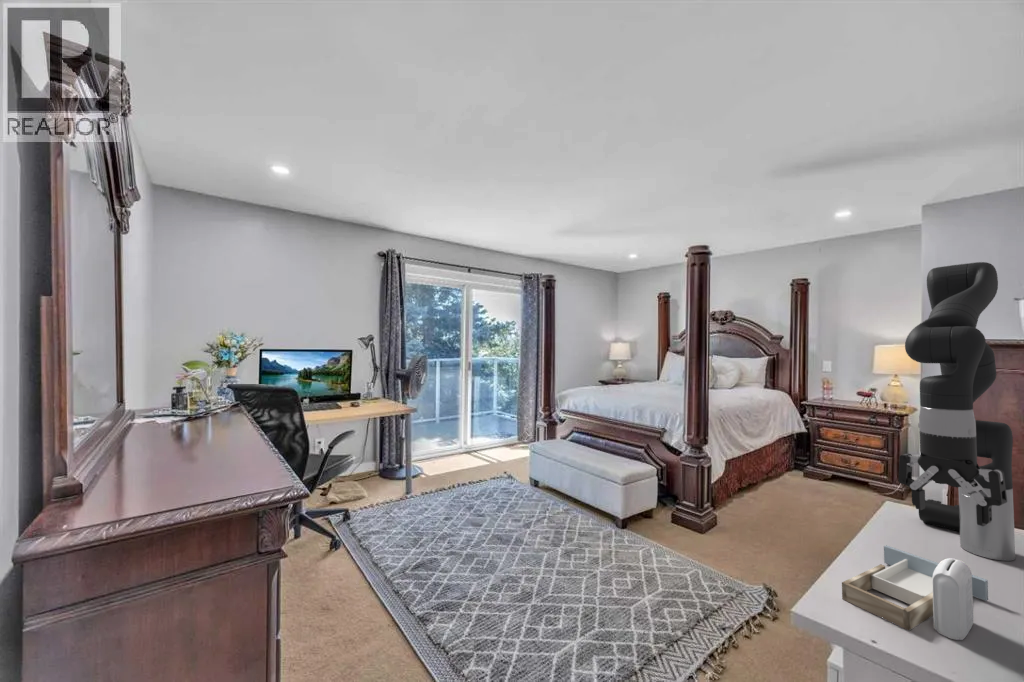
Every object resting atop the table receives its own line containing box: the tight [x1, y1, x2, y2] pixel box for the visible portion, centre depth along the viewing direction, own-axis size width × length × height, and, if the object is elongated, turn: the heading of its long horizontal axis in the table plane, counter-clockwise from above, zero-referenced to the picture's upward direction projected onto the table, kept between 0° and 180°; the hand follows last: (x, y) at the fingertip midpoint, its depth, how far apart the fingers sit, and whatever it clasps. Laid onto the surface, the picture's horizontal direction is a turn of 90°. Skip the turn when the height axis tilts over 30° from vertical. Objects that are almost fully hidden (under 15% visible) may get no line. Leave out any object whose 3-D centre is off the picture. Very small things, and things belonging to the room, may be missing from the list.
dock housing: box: [841, 564, 934, 631], centre depth 87 cm, size 16×11×4 cm
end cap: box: [918, 499, 960, 532], centre depth 120 cm, size 10×7×7 cm
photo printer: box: [932, 557, 974, 641], centre depth 79 cm, size 10×4×12 cm, turn 123°
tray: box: [871, 544, 989, 606], centre depth 91 cm, size 16×17×4 cm
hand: (949, 516), depth 79 cm, fingers open, 8 cm apart
